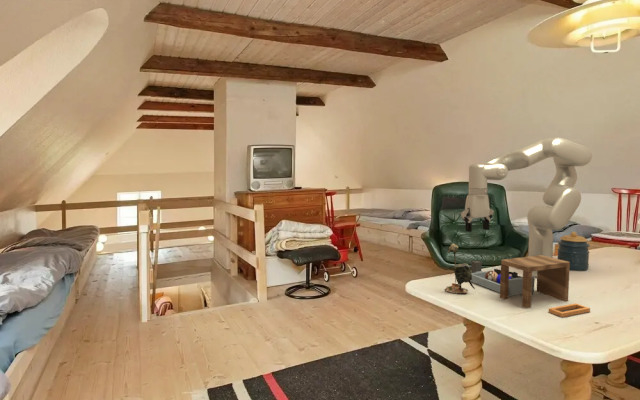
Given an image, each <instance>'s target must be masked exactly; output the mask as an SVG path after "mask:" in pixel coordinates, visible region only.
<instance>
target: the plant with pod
mask: <svg viewBox="0 0 640 400" xmlns="http://www.w3.org/2000/svg"><path fill="white" fill-rule="evenodd" d="M458 251H459V245H457V244H455V243H451V244H450V246H449V247H448V251H447V253H450V252H451V253H453V257H454V266H453V273H454V276H455V277H454V279H455V280H454V282H452V283H451V285H450V286H445V287H446V288H445V289H444V291H445V292H448V293H454V294H467V293H468V292H469V290H468V289H467V288H465V287H464V288H463V287H462V284H463V283H468V284H469V285H470V286H471V288H472V289H474V290H475V289H476V287H475V286H474V285H473V284H472V283H473V282H471V280H472V273H471V266H470V264H468V263H458V264H457V261H456V256H457V255H456V254H457V252H458Z"/></svg>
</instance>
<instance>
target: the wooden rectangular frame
mask: <svg viewBox="0 0 640 400" xmlns="http://www.w3.org/2000/svg"><path fill="white" fill-rule="evenodd" d="M548 313H549V314H551V315H555V316H556V317H559V318H567V317H572V316H577V315H583V314H589V313H591V308H590V307H588V306H585V305H582V304H580V303H571V304H565V305H561V306H554V307H549V308H548Z"/></svg>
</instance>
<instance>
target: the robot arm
mask: <svg viewBox="0 0 640 400" xmlns="http://www.w3.org/2000/svg"><path fill="white" fill-rule="evenodd" d="M592 157H593V154H592V152H591V150H590V149H589V148H588V147H587V146H585V145H582V144H579V143H577V142H574V141H572V140H569V139H566V138H563V137H549V138H542V139H541V140H537V141H536V142H533V143H531V144H529V145H527V146H525V147H522V148H519V149H518V150H514V151H512V152H510V153H507V154H504V155H501V156H498V157H496V158H494V159H490V160H489V161H487V162H485V163H475V164H469V166H468V195H466V199H465V205H464V210H463V211H462V212H460V215H461V218H462V221H463V222H464V223H465V232H467V233H468V232H469V233H472V232H473V231H472V230H473V229H472V228H473V225H472V221H473V220H474V219H481V218H482V219H483V220H482V229H483V230H486V231H489V230H490V222H491V220H492V218H493V216H494V212H495V211H494V210H493V209H492V208H490V199H489V195H488V192H489V189H488V181H501V180H504V179H505V178H507V176H508V174H509V171H515V170H521V169H527V168H528V167H531V166H533V165H535V164H537V163H540V162H542V161H544V160H546V159H549V158H553V159H552V160H553V163H554V166H555V169H556V170H555V171H556V173H555V176H554V177H553V179H552V180H551V182H550V183H549V185H548V187H547V188H546V189H545V192H544V193H543V196H542V201H543V203H544V204H545V205H547V206H544V205H535V206H532V207H531V208H530V209H529V210H528V212H527V216H526V219H527V224H528V255H527V257H529V256H538V255H542V256H547V257H551V258H553V253H554V251H553V249H554V235H553V234H554V232H553V231H559V230H562V229H564V228H565V227H566V226H567V224H568V223H569V222H570V221H571V219H572V217H573V216H574V214H575V213H576V211H577V209H578V208H579V206H580V204H581V201H582V195H581V192H580V190H578V188H576V187H574V186H575V184H576V182H577V180H578V174H577V171H576V167H584V166H586V165H588V164H589V163H590V162H591V161H592ZM552 230H553V231H552ZM532 276H534V277H535V278H537V271H532Z"/></svg>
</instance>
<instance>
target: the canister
mask: <svg viewBox="0 0 640 400" xmlns="http://www.w3.org/2000/svg"><path fill="white" fill-rule="evenodd" d="M559 239H560V241H558V242H557V244H558V248H557V258H556V259H559V260H563V261H568V262H570V268H569V271H578V272H580V271H581V272H583V271H588V270H589V267H590V265H589V258H590V251H589V247H591V246H590V244H589V243H588V239H587V238H585V236H582V235H578V234H577V232H576V231H571V233H570V234H566V235H565V234H564V235H563V236H561V237H559Z"/></svg>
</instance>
